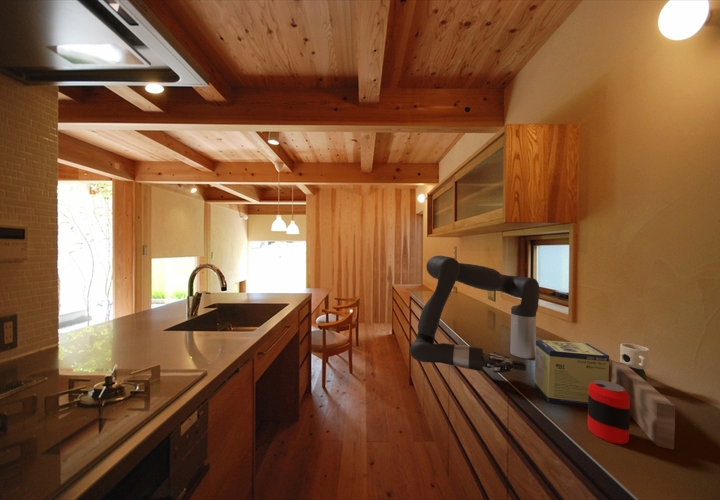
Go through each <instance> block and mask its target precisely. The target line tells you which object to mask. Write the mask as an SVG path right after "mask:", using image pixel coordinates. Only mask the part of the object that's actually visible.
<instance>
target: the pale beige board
mask: <svg viewBox="0 0 720 500" xmlns="http://www.w3.org/2000/svg"><path fill="white" fill-rule="evenodd" d="M610 382H613V383H615V384H618V385H620V386H622V387H623V388H624V389H625V391H626V392H627V393H628V394H629V396H630V417H631V418H632V419H633V420H634V422H636V424H637V425H638V426H639V427H640V429H641V430H642V431H643V433H645V435H647V437H648V438H649V440H651V442H652V443H653V444H654V446H657V447H661V448H665V449H668V450H675V436H676V435H675V428H676V425H675V424H676V423H675V422H676V405H675V404H674V403H673V402H671V401H670V400H669V399H668V398H666V396H664V395H663V394H662V393H660V392H659V391H658V390H657V389H655V388H654V386H652V385H651V384H650V383H648V382H646V381H645V380H644V379H642V378H641V377H640V376H639V375H638V374H636V373H635V372H634V371H633V370H632V369H631V368H629V367H628V366H627V365H626V364H625V363H621V362H620V361H619V362H617V361H611V381H610Z"/></svg>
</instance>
